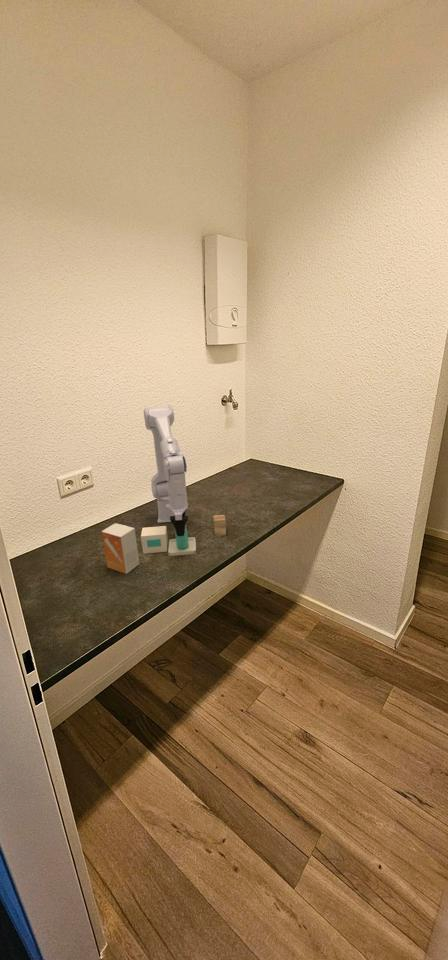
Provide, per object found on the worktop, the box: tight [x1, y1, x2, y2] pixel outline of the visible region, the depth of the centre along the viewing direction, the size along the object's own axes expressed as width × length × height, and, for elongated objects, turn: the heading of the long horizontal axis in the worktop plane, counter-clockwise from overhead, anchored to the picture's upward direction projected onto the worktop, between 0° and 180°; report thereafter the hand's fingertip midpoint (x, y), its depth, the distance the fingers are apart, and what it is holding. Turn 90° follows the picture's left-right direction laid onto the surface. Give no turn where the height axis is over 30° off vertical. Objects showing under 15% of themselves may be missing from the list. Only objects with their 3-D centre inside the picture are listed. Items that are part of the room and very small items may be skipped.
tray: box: [167, 536, 197, 557], centre depth 133 cm, size 9×9×1 cm
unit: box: [140, 525, 169, 554], centre depth 133 cm, size 7×8×6 cm
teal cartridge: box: [174, 528, 189, 550], centre depth 132 cm, size 4×4×6 cm
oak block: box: [213, 514, 227, 537], centre depth 141 cm, size 4×4×6 cm
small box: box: [100, 522, 140, 575], centre depth 122 cm, size 8×6×13 cm
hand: (180, 529), depth 131 cm, fingers open, 7 cm apart
